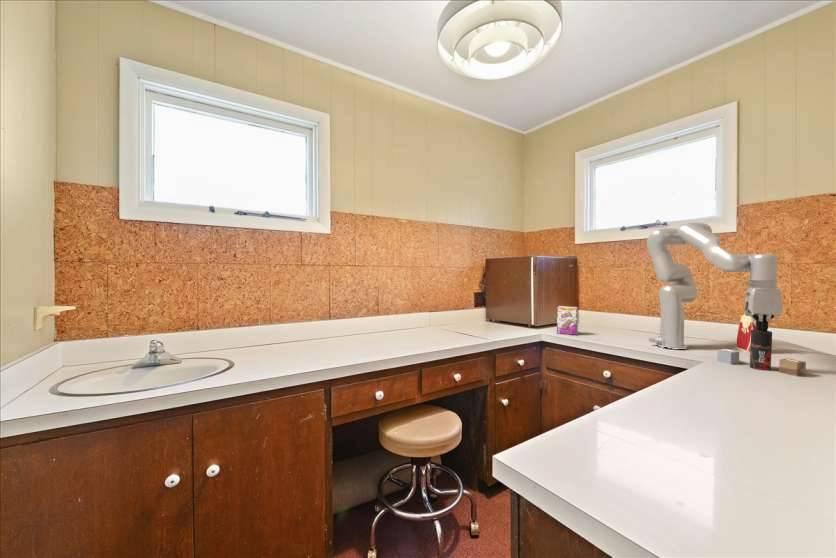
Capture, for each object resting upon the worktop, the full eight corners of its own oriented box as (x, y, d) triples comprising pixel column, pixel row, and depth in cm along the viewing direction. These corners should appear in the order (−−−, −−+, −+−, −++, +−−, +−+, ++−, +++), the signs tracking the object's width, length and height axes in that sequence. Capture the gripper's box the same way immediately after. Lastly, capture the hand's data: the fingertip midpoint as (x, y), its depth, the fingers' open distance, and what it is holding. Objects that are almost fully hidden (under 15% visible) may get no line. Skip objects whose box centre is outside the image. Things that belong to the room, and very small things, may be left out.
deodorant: (764, 366, 137) (766, 330, 136) (774, 371, 131) (776, 333, 130) (746, 365, 139) (747, 329, 138) (755, 369, 133) (756, 332, 132)
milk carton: (771, 353, 156) (772, 310, 155) (747, 352, 158) (748, 310, 157) (755, 348, 165) (757, 308, 164) (733, 348, 166) (734, 307, 166)
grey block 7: (730, 364, 140) (730, 352, 140) (717, 361, 145) (717, 349, 145) (739, 363, 142) (739, 351, 142) (725, 360, 147) (725, 348, 146)
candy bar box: (556, 333, 204) (556, 306, 203) (558, 332, 208) (558, 305, 208) (576, 335, 198) (577, 308, 197) (577, 334, 202) (578, 307, 202)
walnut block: (796, 376, 125) (796, 362, 125) (779, 372, 130) (779, 359, 130) (805, 375, 127) (805, 361, 126) (787, 371, 131) (788, 358, 131)
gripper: (746, 285, 132) (745, 332, 132) (794, 285, 128) (793, 333, 129) (734, 284, 139) (733, 328, 140) (779, 284, 135) (777, 330, 136)
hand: (761, 331), depth 134 cm, fingers closed
